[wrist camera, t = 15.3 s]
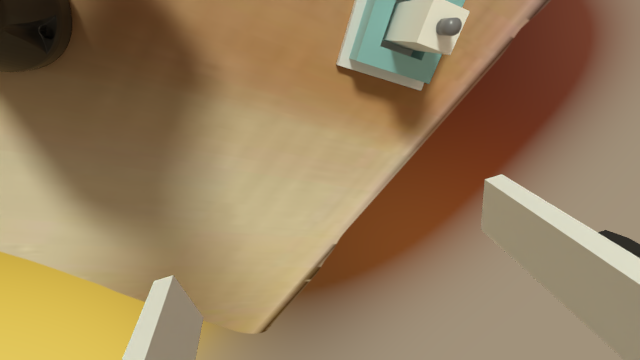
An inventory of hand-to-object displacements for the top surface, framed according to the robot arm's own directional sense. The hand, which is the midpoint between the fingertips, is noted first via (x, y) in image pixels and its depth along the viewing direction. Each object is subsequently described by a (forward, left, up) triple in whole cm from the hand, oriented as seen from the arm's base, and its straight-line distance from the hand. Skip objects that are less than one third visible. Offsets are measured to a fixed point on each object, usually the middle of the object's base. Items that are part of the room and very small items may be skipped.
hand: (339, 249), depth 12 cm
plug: (+18, +4, -33) cm, 38 cm away
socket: (+18, +4, -34) cm, 39 cm away
